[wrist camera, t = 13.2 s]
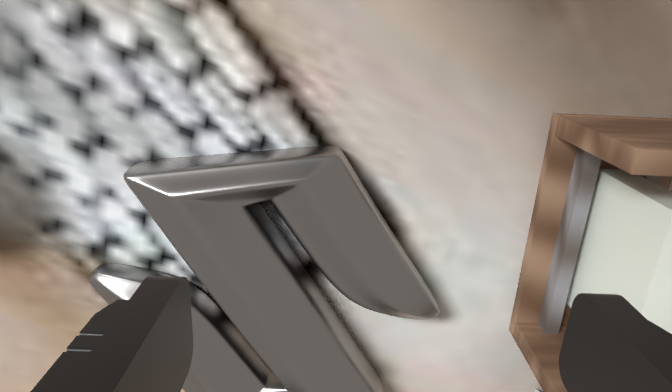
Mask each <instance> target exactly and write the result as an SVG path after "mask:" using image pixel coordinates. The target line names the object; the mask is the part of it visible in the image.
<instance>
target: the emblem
mask: <svg viewBox="0 0 672 392" xmlns="http://www.w3.org/2000/svg"><path fill="white" fill-rule="evenodd" d="M123 177H124V180H125V181H126V183H127V185H128V186H129V187H130V189H131V190H132V191H133V193H134V194H135V196H136V197H137V198H138V200H139V201H140V202H141V204H142V205H143V206H144V208H145V209H146V210H147V212H148V213H149V214H150V215H151V217H152V218H153V219H154V221H155V222H156V223H157V225H158V226H159V227H160V229H161V230H162V231H163V233H164V234H165V235H166V237H167V238H168V239H169V241H170V242H171V243H172V245H173V246H174V247H175V249H176V250H177V251H178V253H179V254H180V255H181V257H182V258H183V259H184V261H185V262H186V263H187V265H188V266H189V267H190V268H191V270H192V271H193V272H194V274H195V275H196V276H197V278H198V279H199V280H200V282H201V283H202V284H203V286H204V287H205V288H206V289H207V291H208V292H209V293H210V295H211V296H212V297H213V299H214V300H215V301H216V302H217V304H218V305H219V306H220V308H221V309H222V310H223V311H224V312H223V311H222V310H221V309H220V308H219V307H218V306H217V304H216V303H215V302H214V301H213V300H212V299H210V298H209V297H208V296H207V295H206V294H205V293H204V292H202V291H201V290H200V289H198V288H197V287H195V286H193V285H191V284H189V288H190V301H191V315H192V329H193V355H192V361H191V365H190V369H189V372H188V375H187V377H186V379H185V382H184V384H183V387H182V388H183V389H184V391H185V392H383V387H382V383H381V380H380V378H379V376H378V374H377V373H376V371H375V370H374V368H373V367H372V365H371V364H370V362H369V361H368V359H367V358H366V356H365V355H364V354H363V352H362V351H361V349H360V348H359V346H358V345H357V343H356V342H355V340H354V339H353V337H352V336H351V335H350V333H349V332H348V330H347V329H346V327H345V326H344V324H343V323H342V321H341V320H340V319H339V317H338V316H337V314H336V313H335V311H334V310H333V308H332V307H331V305H330V304H329V302H328V301H327V300H326V298H325V297H324V295H323V294H322V292H321V291H320V289H319V288H318V287H317V285H316V284H315V282H314V281H313V279H312V278H311V276H310V275H309V273H308V272H307V271H306V269H305V268H304V266H303V265H302V263H301V262H300V260H299V259H298V258H297V256H296V255H295V253H294V252H293V250H292V249H291V247H290V246H289V245H288V243H287V242H286V240H285V239H284V237H283V236H282V234H281V233H280V232H279V230H278V229H277V227H276V226H275V224H274V223H273V221H272V220H271V219H270V217H269V216H268V214H267V213H266V211H265V210H264V208H263V207H262V205H261V204H260V202H264V201H268V200H269V201H270V202H271V203H272V204H273V206H274V207H275V209H276V210H277V211H278V213H279V214H280V216H281V217H282V219H283V220H284V221H285V223H286V224H287V226H288V227H289V229H290V230H291V232H292V233H293V234H294V236H295V237H296V239H297V240H298V241H299V243H300V244H301V246H302V247H303V248H304V250H305V251H306V252H307V254H308V255H309V256H310V258H311V259H312V260H313V262H314V263H315V264H316V266H317V267H318V268H319V269H320V271H321V272H322V273H323V274H324V275H325V277H326V278H327V279H328V280H329V281H330V282H331V283H332V284H333V286H334V287H335V288H337V289H338V290H339V291H340V292H341V293H342V294H343V295H344V296H346V297H347V298H348V299H350V300H351V301H353V302H354V303H356V304H358V305H360V306H362V307H364V308H367V309H370V310H373V311H375V312H379V313H383V314H387V315H391V316H396V317H402V318H410V319H431V318H434V317H436V316H437V315H438V314H439V313H440V311H439V307H438V305H437V303H436V301H435V299H434V297H433V295H432V293H431V291H430V290H429V288H428V286H427V285H426V283H425V281H424V280H423V278H422V277H421V275H420V274H419V272H418V271H417V269H416V268H415V266H414V264H413V263H412V261H411V260H410V258H409V257H408V255H407V254H406V252H405V251H404V249H403V248H402V246H401V244H400V243H399V241H398V240H397V238H396V237H395V235H394V234H393V232H392V230H391V229H390V227H389V226H388V224H387V223H386V221H385V219H384V218H383V216H382V215H381V213H380V211H379V210H378V208H377V207H376V205H375V203H374V202H373V200H372V198H371V197H370V195H369V194H368V192H367V190H366V189H365V187H364V185H363V184H362V182H361V181H360V179H359V177H358V176H357V174H356V172H355V171H354V169H353V168H352V166H351V164H350V163H349V161H348V159H347V158H346V156H345V155H344V153H343V152H342V151H341V149H340V148H338V147H336V146H317V147H304V148H291V149H279V150H267V151H254V152H242V153H229V154H217V155H205V156H192V157H180V158H168V159H157V160H148V161H143V162H140V163H137V164H136V165H134V166H132V167H131V168H130V169H128V170H127V171H126V172H125V173H124V176H123ZM147 276H170V275H167V274H164V273H160V272H157V271H153V270H148V269H144V268H139V267H134V266H128V265H122V264H112V263H107V264H102V265H100V266H98V267H97V268H96V269H95V270H94V271H93V272H92V273H91V274H90V276H89V282H90V283H91V285H92V286H93V287H94V289H95V290H96V291H97V292H98V293H99V294H100V295H101V296H102V297H103V299H104V300H105V301H106V302H107V303H108V304H109V305H110V304H112V303H113V302H115V301H116V300H118V299H123V300H129V299H130V298H131V296H132V295H133V294H134V292H135V291H136V290H137V288H138V287H139V286H140V284H141V283H142V282H143V280H144V279H145V278H146V277H147ZM170 277H173V276H170Z"/></svg>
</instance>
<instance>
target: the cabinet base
mask: <svg viewBox="0 0 672 392" xmlns="http://www.w3.org/2000/svg"><path fill="white" fill-rule="evenodd" d="M599 168H601V169H622V170H624V171H626V172H628V173H629V174H631V175H639V176H641V177H643V178H645V179H647V180H649V181H651V182H653V183H655V184H657V185H659V186H661V187H663V188H665V189H667V190H669V187H670V183H671V180H672V119H668V118H645V117H622V116H600V115H577V114H554V113H553V116H552V121H551V126H550V131H549V136H548V141H547V146H546V151H545V155H544V160H543V165H542V170H541V175H540V180H539V185H538V190H537V195H536V200H535V205H534V210H533V214H532V219H531V224H530V229H529V234H528V239H527V244H526V249H525V254H524V259H523V264H522V269H521V273H520V278H519V283H518V288H517V293H516V298H515V303H514V308H513V313H512V318H511V323H510V328H509V331H510V332H511V334H512V336H513V338H514V339H515V341H516V343H517V345H518V347H519V348H520V350H521V352H522V354H523V355H524V357H525V359H526V361H527V362H528V364H529V366H530V368H531V370H532V371H533V373H534V375H535V377H536V378H537V380H538V382H539V384H540V385H541V387H542V389H543V391H544V392H568V391H567V390H566V388H565V386H564V384H563V382H562V379H561V376H560V371H559V354H560V350H561V346H562V342H563V338H564V334H565V330H566V326H567V322H568V318H569V314H570V311H571V308H570V307H569V305H568V304H567V303H566V301H567V297H568V293H569V289H570V285H571V281H572V277H573V273H574V269H575V265H576V261H577V257H578V253H579V249H580V245H581V241H582V236H583V232H584V228H585V224H586V220H587V216H588V212H589V208H590V204H591V200H592V196H593V192H594V188H595V184H596V180H597V176H598V172H599Z"/></svg>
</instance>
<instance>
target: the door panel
mask: <svg viewBox="0 0 672 392" xmlns="http://www.w3.org/2000/svg"><path fill="white" fill-rule="evenodd" d="M580 293H593V294H617V295H621V296H622V297H624V298H625V299H626V300H627V301H628V302H629V303H630V304H631V305H632V306H633V307H634V308H635V309H637V310H638V311H639V312H640V313H641V314H642V315H643V316H644V317H645V318H646V319H647V320H649V321H651V322H652V323H654V324H656V325H657V326H659V327H661V328H662V329H664V330H666V331H667V332H669V333H671V334H672V192H671V191H669V190H667V189H665V188H663V187H661V186H659V185H657V184H655V183H653V182H651V181H649V180H647V179H645V178H643V177H641V176H639V175H631V174H629V173H628V172H626V171H624V170H622V169H601V168H599V172H598V176H597V180H596V184H595V188H594V192H593V196H592V200H591V204H590V208H589V212H588V216H587V220H586V224H585V228H584V232H583V236H582V241H581V245H580V249H579V253H578V257H577V261H576V265H575V269H574V273H573V277H572V281H571V285H570V289H569V293H568V297H567V301H566V303H567V304H568V305H569V307H570V308H571V307H572V303H573V300H574V298H575V297H576V296H577V295H578V294H580Z"/></svg>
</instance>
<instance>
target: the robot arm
mask: <svg viewBox="0 0 672 392" xmlns="http://www.w3.org/2000/svg"><path fill="white" fill-rule="evenodd" d="M192 355H193V329H192V315H191V301H190V288H189V282H188V280H187V278H186V277H170V276H147V277H146V278H145V279H144V280H143V282H142V283H141V284H140V286H139V287H138V288H137V290H136V291H135V292H134V294H133V295H132V296H131V298H130V299H129V300H123V299H118V300H116V301H115V302H113V303H112V304H110V305H108V306H107V307H105V308H104V309H102V310H101V311H99V312H97V313H96V314H95V315H94V316H93V317H92V318H91V319H90V321H89V322H88V323H87V324H86V325H85V327H84V328H83V329H82V330H81V332H80V335H79V336H76V338H75V339H74V340H73V341H72V342H71V344H70V345H69V346H68V347H67V351H66V352H63V353H62V354H61V356H60V357H59V358H58V359H57V361H56V362H55V363H54V364H53V365H52V367H51V368H50V369H49V370H48V371H47V373H46V374H45V375H44V376H43V377H42V379H41V380H40V381H39V382H38V383H37V385H36V386H35V387H34V388H33V390H32V391H31V392H180V391H181V389H182V387H183V384H184V382H185V379H186V377H187V375H188V372H189V369H190V365H191V361H192ZM559 371H560V376H561V379H562V382H563V384H564V386H565V388H566V390H567V391H568V392H672V334H671V333H669V332H667V331H666V330H664V329H662V328H661V327H659V326H657V325H656V324H654V323H652V322H651V321H649V320H647V319H646V318H645V317H644V316H643V315H642V314H641V313H640V312H639V311H638V310H637V309H635V308H634V307H633V306H632V305H631V304H630V303H629V302H628V301H627V300H626V299H625V298H624V297H622V296H621V295H617V294H593V293H580V294H578V295H577V296H576V297H575V298H574V300H573V303H572V307H571V311H570V314H569V318H568V322H567V326H566V330H565V334H564V338H563V342H562V346H561V350H560V354H559Z"/></svg>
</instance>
